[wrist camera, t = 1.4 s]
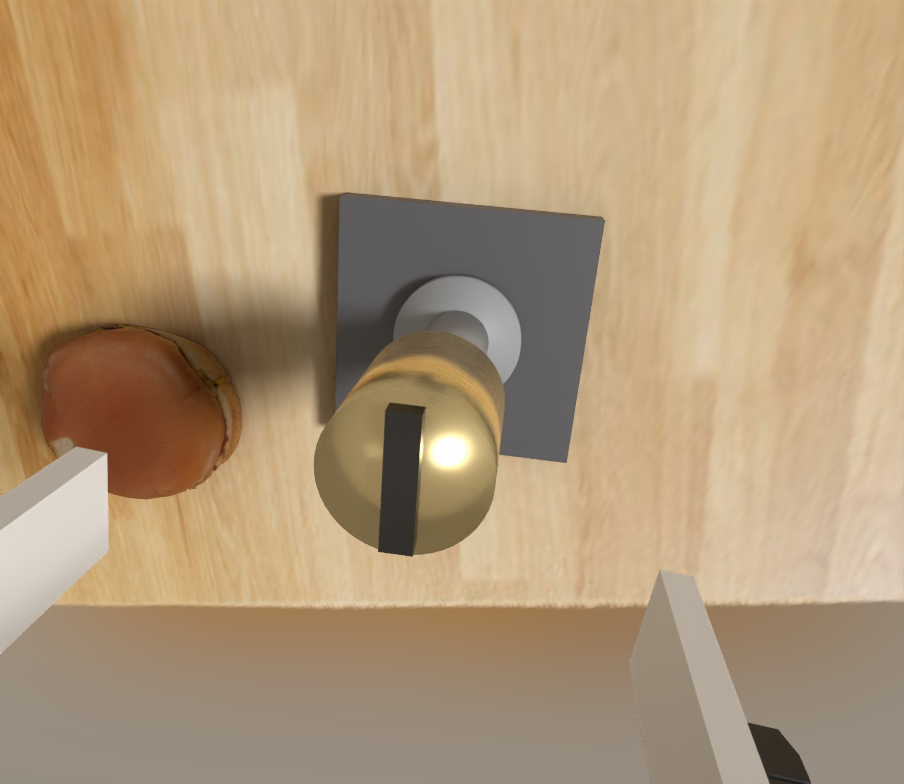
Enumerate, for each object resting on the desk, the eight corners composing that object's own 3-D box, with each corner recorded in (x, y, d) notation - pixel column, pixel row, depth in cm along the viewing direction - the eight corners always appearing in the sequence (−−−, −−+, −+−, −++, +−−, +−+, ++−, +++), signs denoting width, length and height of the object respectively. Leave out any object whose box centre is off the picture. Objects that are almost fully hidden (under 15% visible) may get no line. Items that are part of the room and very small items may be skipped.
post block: (348, 192, 32) (271, 215, 23) (601, 216, 31) (628, 251, 22) (342, 422, 37) (276, 519, 27) (565, 450, 36) (574, 560, 26)
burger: (278, 410, 37) (243, 446, 33) (176, 504, 40) (132, 549, 36) (141, 275, 35) (85, 294, 31) (46, 384, 38) (-18, 415, 34)
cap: (366, 323, 24) (307, 387, 18) (512, 339, 24) (504, 410, 18) (361, 454, 26) (306, 553, 20) (497, 472, 26) (484, 578, 19)
